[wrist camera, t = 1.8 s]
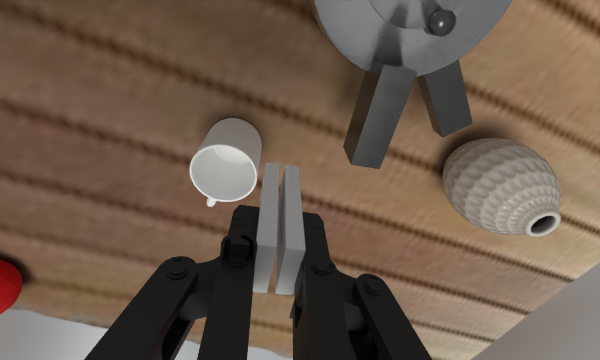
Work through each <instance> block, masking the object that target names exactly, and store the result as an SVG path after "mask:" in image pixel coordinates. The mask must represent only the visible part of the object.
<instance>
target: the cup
mask: <svg viewBox="0 0 600 360" xmlns="http://www.w3.org/2000/svg"><path fill="white" fill-rule="evenodd" d="M261 151H262V142H261V138H260V135H259V133H258V131H257V130H256V129H255V128H254V127H253V126H252V125H251V124H250V123H248V122H246V121H244V120H241V119H237V118H227V119H223V120H221V121H219V122H217V123H216V124H215V125H214V126H213V127H212V128H211V129H210V131H209V132H208V134H207V136H206V137H205V139H204V141H203V142H202V144H201V145H200V147H199V149H198V150H197V152H196V154H195V155H194V157H193V158H192V161H191V163H190V177H191V179H192V182H193V184H194V185H195V187H196V188H197V189H198V190H199V191H200V192H201V193H202V194H204V195H205V196H207V197H208V199H207V205H208V206H209V207H212V206H214V205H215V203H216V201H223V202H231V201H237V200H240V199H242V198H244V197H246V196H247V195H248V194H250V193H251V191H252V190H253V189H254V187H255V185H256V182H257V176H258V170H259V163H260V157H261Z"/></svg>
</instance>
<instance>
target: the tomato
mask: <svg viewBox="0 0 600 360" xmlns="http://www.w3.org/2000/svg"><path fill="white" fill-rule="evenodd" d="M21 288H22V277H21V274H20V272H19V271H18V269H17V268H16V267H14V266H13V265H12V264H10V263H8V262H6V261H3V260H1V259H0V314H2V313H3V312H4V311H6V310H7V309H8V308H10V307H11V306H12V305H13V304H14V303H15V301H16V300H17V298H18V296H19V294H20V292H21Z"/></svg>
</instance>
